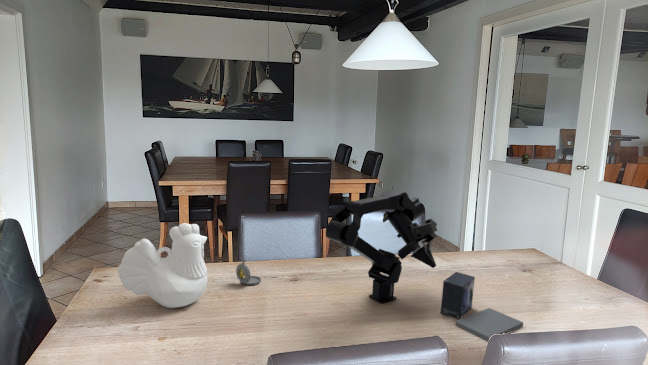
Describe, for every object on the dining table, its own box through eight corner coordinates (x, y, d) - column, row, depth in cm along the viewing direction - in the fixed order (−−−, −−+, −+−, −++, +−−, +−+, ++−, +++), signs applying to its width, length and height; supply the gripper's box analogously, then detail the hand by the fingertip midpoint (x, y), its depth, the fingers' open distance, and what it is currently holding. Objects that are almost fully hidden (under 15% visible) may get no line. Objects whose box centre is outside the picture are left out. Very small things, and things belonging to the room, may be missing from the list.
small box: (460, 320, 127) (463, 286, 125) (439, 313, 131) (442, 280, 129) (473, 308, 136) (475, 276, 134) (452, 302, 139) (455, 271, 138)
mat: (489, 342, 115) (489, 337, 115) (455, 325, 124) (455, 321, 124) (522, 326, 125) (523, 322, 124) (488, 311, 133) (489, 307, 133)
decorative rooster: (207, 289, 144) (206, 215, 140) (209, 309, 130) (208, 228, 126) (125, 296, 137) (121, 219, 133) (117, 319, 122) (112, 233, 118)
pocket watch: (262, 279, 154) (263, 252, 152) (256, 288, 146) (257, 259, 144) (240, 277, 155) (240, 250, 153) (233, 287, 147) (232, 258, 145)
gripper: (410, 216, 128) (443, 261, 124) (432, 207, 144) (463, 246, 139) (384, 237, 134) (416, 280, 130) (409, 226, 149) (438, 264, 145)
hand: (434, 266), depth 136 cm, fingers closed
